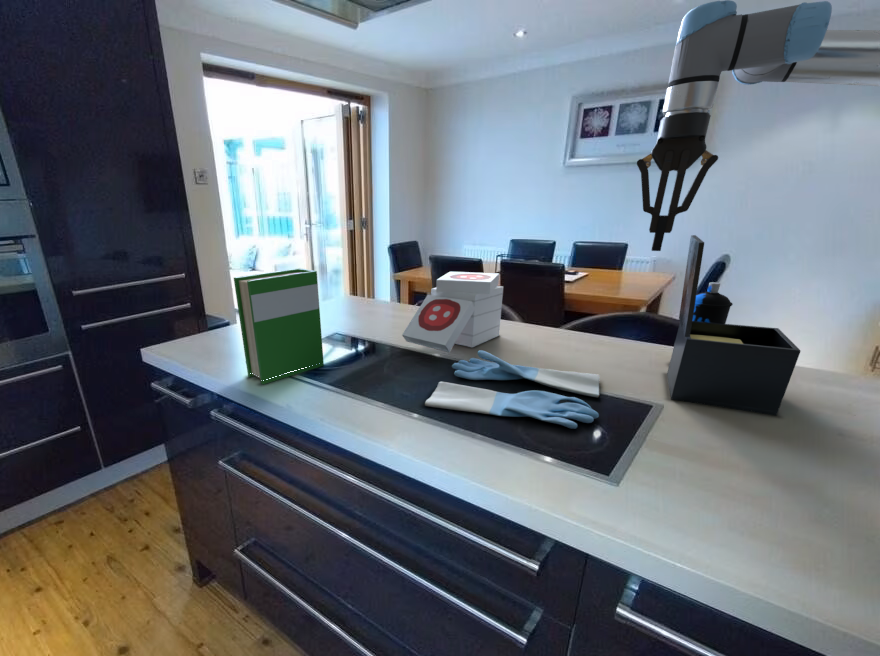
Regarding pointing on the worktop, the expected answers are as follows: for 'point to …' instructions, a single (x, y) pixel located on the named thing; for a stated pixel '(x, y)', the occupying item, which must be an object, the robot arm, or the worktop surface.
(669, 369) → the bin
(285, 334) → the hardback book
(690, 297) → the bin lid
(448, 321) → the pizza boxes
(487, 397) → the rubber gloves
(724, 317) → the aerosol can
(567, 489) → the worktop surface
